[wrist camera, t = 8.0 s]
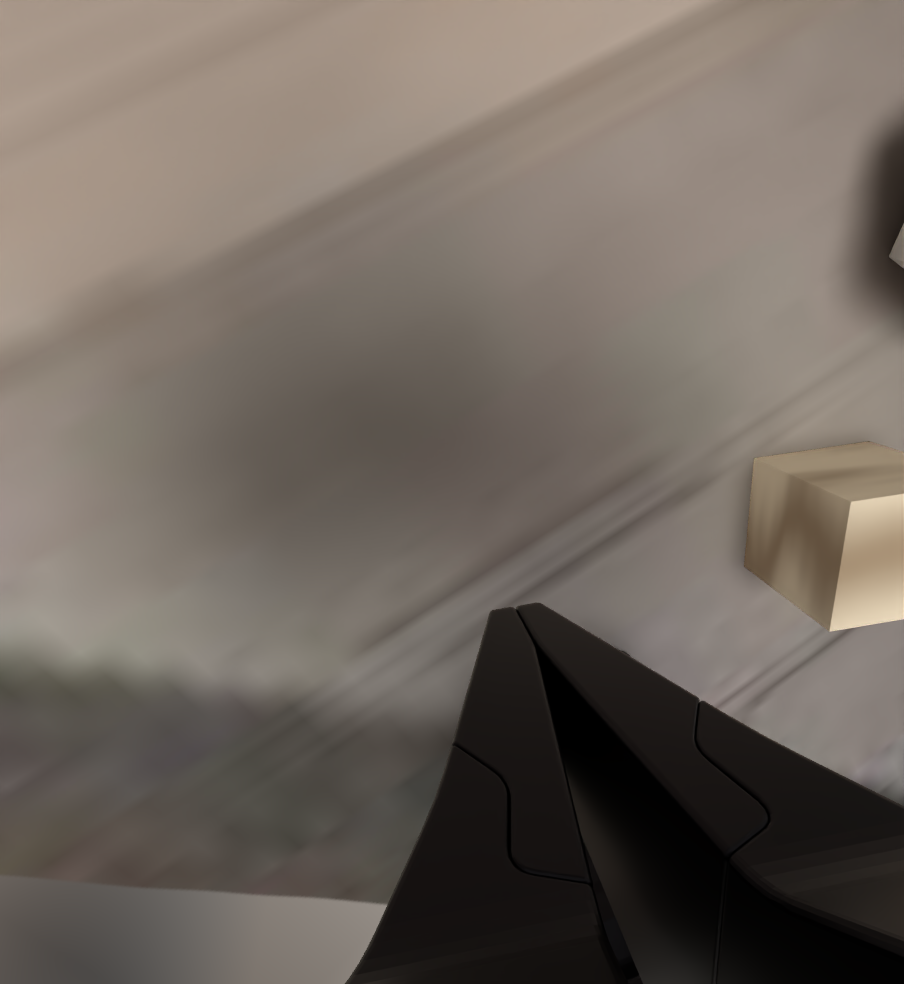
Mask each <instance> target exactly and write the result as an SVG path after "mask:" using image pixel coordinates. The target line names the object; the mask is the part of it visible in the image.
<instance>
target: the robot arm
mask: <svg viewBox="0 0 904 984" xmlns="http://www.w3.org/2000/svg"><path fill="white" fill-rule="evenodd" d="M345 984H904V806H902V805H900V804H898V803H896V802H894V801H892V800H890V799H888V798H886V797H884V796H882V795H880V794H878V793H876V792H874V791H872V790H870V789H868V788H866V787H864V786H862V785H860V784H858V783H856V782H854V781H852V780H850V779H848V778H846V777H844V776H842V775H840V774H838V773H836V772H834V771H832V770H830V769H828V768H826V767H824V766H822V765H820V764H818V763H816V762H814V761H812V760H810V759H808V758H806V757H804V756H802V755H800V754H798V753H796V752H794V751H793V750H791V749H789V748H787V747H785V746H783V745H781V744H779V743H777V742H775V741H773V740H771V739H769V738H767V737H766V736H764V735H762V734H760V733H758V732H757V731H755V730H753V729H751V728H750V727H748V726H746V725H744V724H743V723H741V722H739V721H737V720H735V719H734V718H732V717H730V716H728V715H727V714H725V713H723V712H722V711H720V710H718V709H717V708H715V707H713V706H712V705H710V704H708V703H707V702H705V701H700V703H699V698H698V697H696V696H695V695H693V694H691V693H690V692H688V691H686V690H685V689H683V688H681V687H680V686H678V685H676V684H675V683H673V682H671V681H670V680H668V679H666V678H665V677H663V676H661V675H660V674H658V673H656V672H655V671H653V670H651V669H650V668H648V667H646V666H645V665H643V664H641V663H640V662H638V661H636V660H635V659H633V658H631V657H630V655H629V654H626V653H623V652H621V651H620V650H618V649H616V648H615V647H613V646H611V645H610V644H608V643H606V642H605V641H603V640H601V639H600V638H598V637H596V636H595V635H593V634H591V633H590V632H588V631H586V630H585V629H583V628H581V627H580V626H578V625H576V624H575V623H573V622H571V621H570V620H568V619H566V618H565V617H563V616H561V615H560V614H558V613H556V612H555V611H553V610H551V609H550V608H548V607H546V606H545V605H543V604H541V603H531V604H526V605H520V606H518V607H516V609H515V608H513V607H508V608H502V609H496V610H492V611H491V612H490V614H489V617H488V620H487V624H486V627H485V631H484V634H483V638H482V641H481V645H480V648H479V652H478V655H477V659H476V662H475V666H474V669H473V673H472V676H471V680H470V683H469V687H468V690H467V694H466V697H465V701H464V704H463V708H462V711H461V715H460V718H459V722H458V725H457V729H456V732H455V736H454V739H453V743H452V747H451V749H450V752H449V755H448V759H447V762H446V766H445V769H444V772H443V775H442V778H441V781H440V784H439V787H438V790H437V793H436V796H435V799H434V802H433V804H432V806H431V809H430V811H429V814H428V816H427V818H426V821H425V823H424V826H423V828H422V830H421V833H420V835H419V837H418V840H417V842H416V844H415V846H414V848H413V850H412V853H411V855H410V857H409V859H408V861H407V864H406V866H405V868H404V870H403V872H402V875H401V877H400V879H399V881H398V883H397V886H396V888H395V890H394V892H393V894H392V896H391V899H390V901H389V903H388V905H387V907H386V910H385V912H384V914H383V917H382V919H381V921H380V923H379V925H378V927H377V929H376V932H375V934H374V935H373V938H372V940H371V942H370V944H369V946H368V948H367V950H366V951H365V953H364V955H363V957H362V959H361V960H360V962H359V964H358V965H357V967H356V969H355V970H354V972H353V973H352V975H351V976H350V978H349V979H348V980H347V982H346V983H345Z"/></svg>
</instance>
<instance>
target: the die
mask: <svg viewBox="0 0 904 984" xmlns="http://www.w3.org/2000/svg"><path fill="white" fill-rule="evenodd" d="M889 258H891V259H892V260H893V261H895V262H896V263H897V264H899V265H900V266H901V267H902V268H904V224H903V226H902V228H901V230H900V233H899V235H898V237H897V239H896V241H895V244H894V246H893V248H892V250H891V252H890V255H889Z"/></svg>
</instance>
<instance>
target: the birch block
mask: <svg viewBox="0 0 904 984" xmlns="http://www.w3.org/2000/svg"><path fill="white" fill-rule="evenodd" d="M744 567H746V568H747V569H748V570H750V571H751V572H752V573H753V574H755V575H756V576H757V577H759V578H760V579H761V580H763V581H764V582H765V583H767V584H768V585H769V586H770V587H772V588H773V589H774V590H776V591H777V592H778V593H780V594H781V595H782V596H784V597H785V598H786V599H787V600H789V601H790V602H791V603H793V604H794V605H795V606H797V607H798V608H799V609H801V610H802V611H803V612H804V613H806V614H807V615H808V616H810V617H811V618H812V619H814V620H815V621H816V622H818V623H819V624H820V625H821V626H823V627H824V628H825V629H827V630H828V631H829V632H830V631H836V630H842V629H848V628H854V627H860V626H865V625H871V624H877V623H883V622H889V621H895V620H901V619H904V452H902V451H899V450H895V449H892V448H889V447H886V446H882V445H879V444H876V443H873V442H869V441H868V442H861V443H854V444H847V445H840V446H833V447H827V448H820V449H813V450H806V451H799V452H793V453H786V454H779V455H772V456H765V457H759V458H754V464H753V475H752V486H751V497H750V507H749V518H748V529H747V540H746V550H745V561H744Z"/></svg>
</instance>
